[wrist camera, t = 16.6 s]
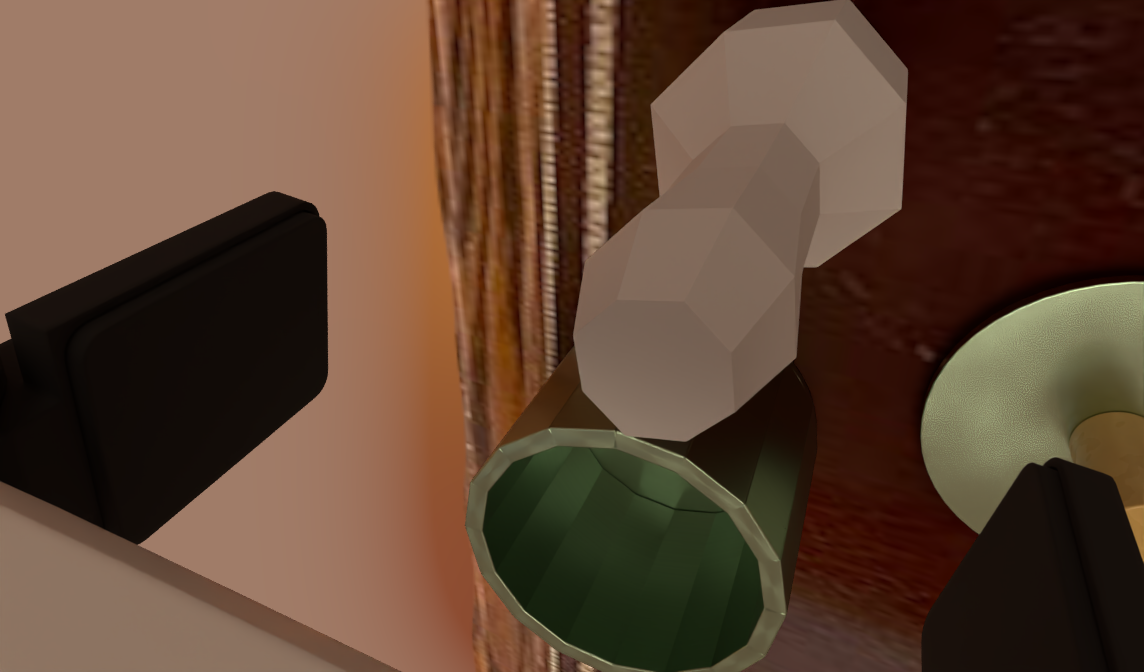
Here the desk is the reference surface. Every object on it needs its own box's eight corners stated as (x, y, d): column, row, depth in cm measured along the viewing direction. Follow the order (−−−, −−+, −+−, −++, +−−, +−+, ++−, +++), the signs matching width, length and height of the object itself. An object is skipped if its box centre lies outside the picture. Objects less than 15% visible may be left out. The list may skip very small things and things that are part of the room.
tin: (586, 263, 36) (482, 379, 27) (858, 354, 33) (836, 515, 25) (546, 463, 43) (454, 604, 34) (769, 552, 40) (728, 730, 31)
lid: (1009, 220, 28) (1030, 297, 23) (1443, 342, 25) (1585, 465, 20) (871, 485, 36) (862, 591, 30) (1194, 605, 33) (1248, 746, 27)
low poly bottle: (706, 25, 29) (372, 239, 11) (880, -61, 26) (796, 47, 8) (768, 179, 31) (564, 571, 13) (937, 116, 28) (972, 525, 10)
